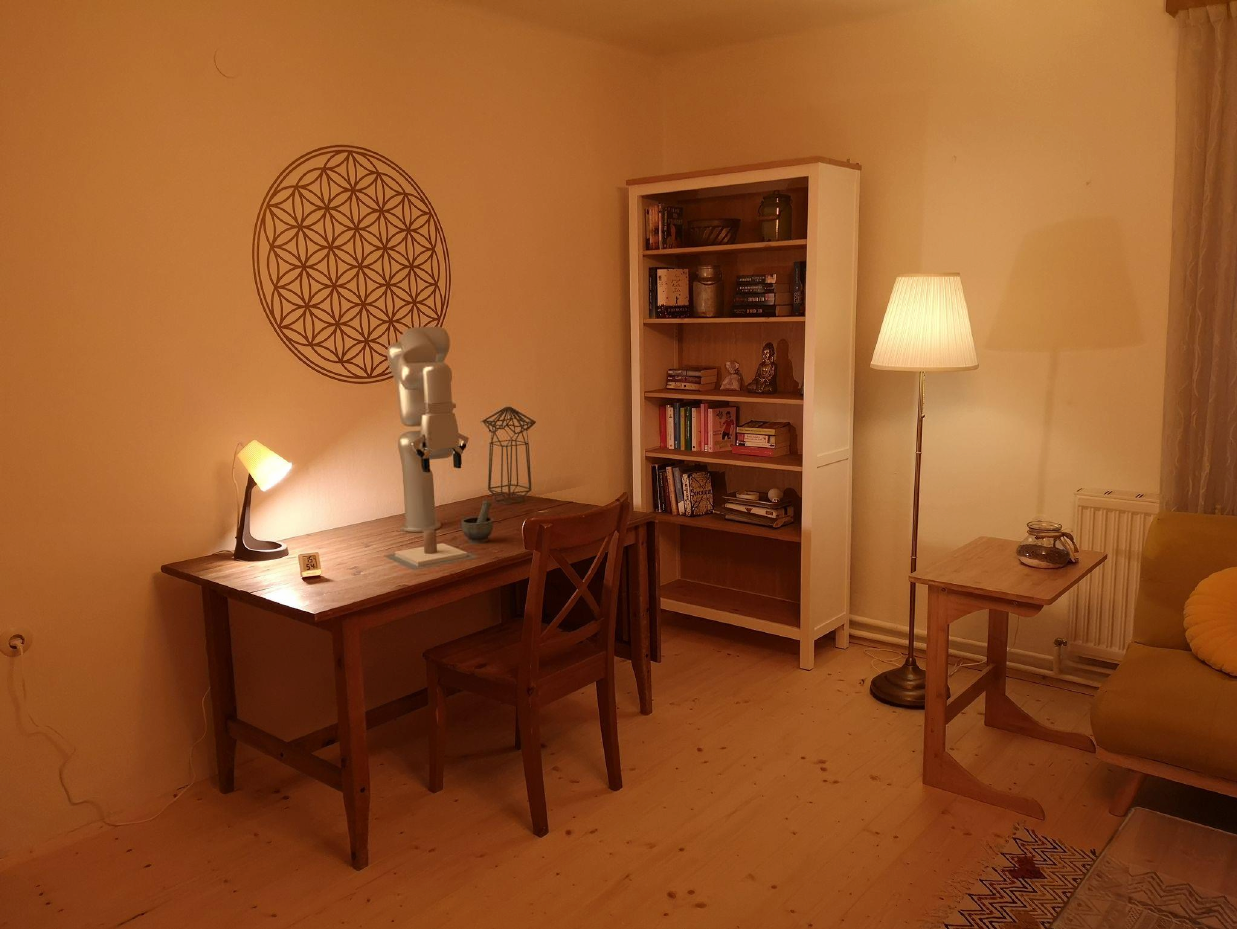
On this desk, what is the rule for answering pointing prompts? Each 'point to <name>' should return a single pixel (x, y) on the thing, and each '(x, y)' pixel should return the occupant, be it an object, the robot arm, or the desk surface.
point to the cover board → (430, 558)
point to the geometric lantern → (532, 422)
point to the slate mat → (414, 567)
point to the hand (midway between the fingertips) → (442, 470)
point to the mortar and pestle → (478, 525)
